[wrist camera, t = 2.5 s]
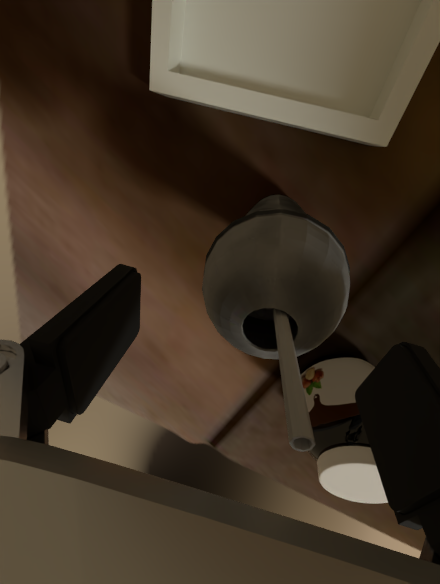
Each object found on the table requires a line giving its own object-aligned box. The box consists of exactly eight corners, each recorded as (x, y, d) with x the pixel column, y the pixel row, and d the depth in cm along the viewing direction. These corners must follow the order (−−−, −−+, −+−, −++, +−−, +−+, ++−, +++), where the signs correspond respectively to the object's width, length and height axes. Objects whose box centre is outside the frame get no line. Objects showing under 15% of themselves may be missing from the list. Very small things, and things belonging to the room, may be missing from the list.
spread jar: (359, 337, 27) (404, 449, 17) (408, 397, 30) (470, 520, 20) (270, 375, 33) (267, 474, 23) (319, 422, 36) (333, 527, 26)
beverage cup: (220, 225, 24) (76, 433, 7) (272, 156, 20) (237, 245, 3) (276, 271, 25) (271, 541, 8) (336, 215, 21) (560, 504, 4)
